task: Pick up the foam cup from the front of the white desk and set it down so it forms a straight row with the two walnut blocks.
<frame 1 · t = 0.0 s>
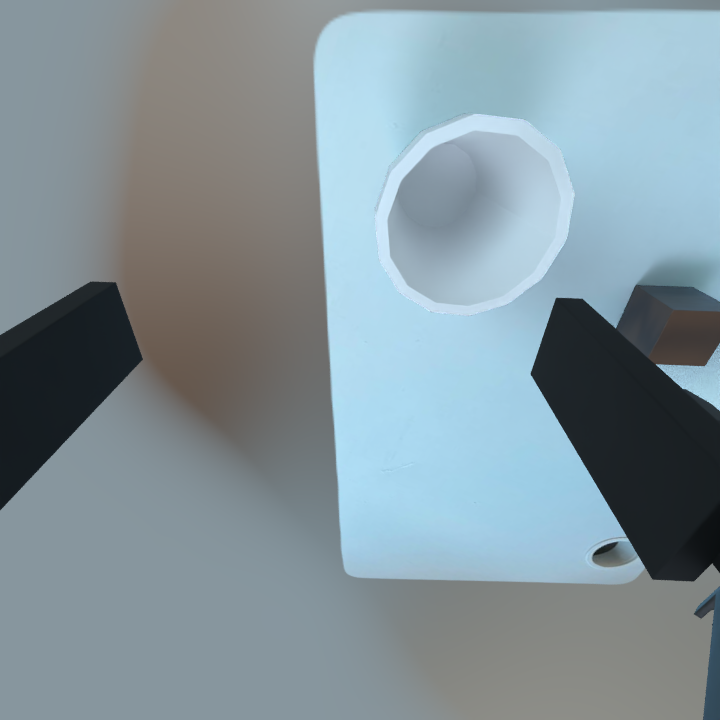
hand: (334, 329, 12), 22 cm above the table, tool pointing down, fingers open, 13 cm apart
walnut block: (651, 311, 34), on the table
foam cup: (435, 185, 29), on the table
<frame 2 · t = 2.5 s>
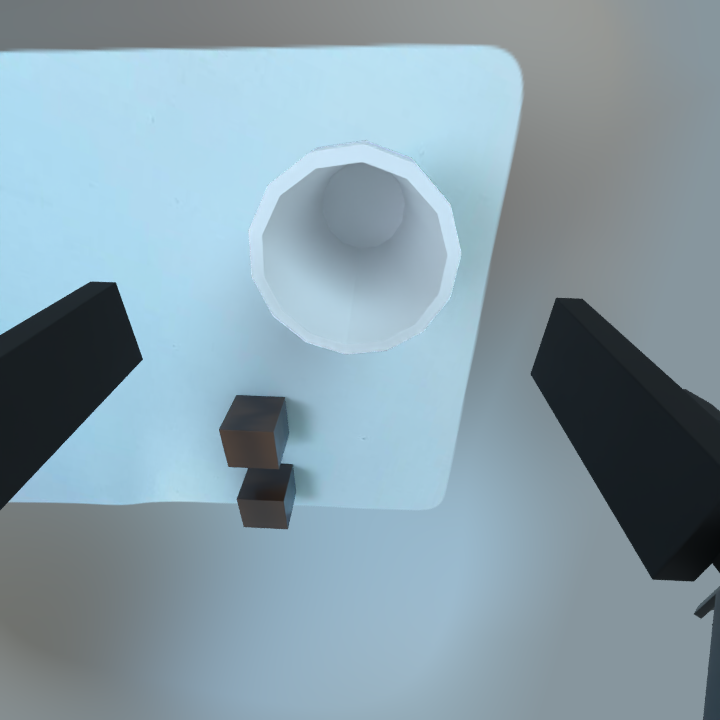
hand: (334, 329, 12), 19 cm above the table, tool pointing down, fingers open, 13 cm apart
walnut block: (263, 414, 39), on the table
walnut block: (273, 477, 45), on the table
foam cup: (363, 204, 28), on the table
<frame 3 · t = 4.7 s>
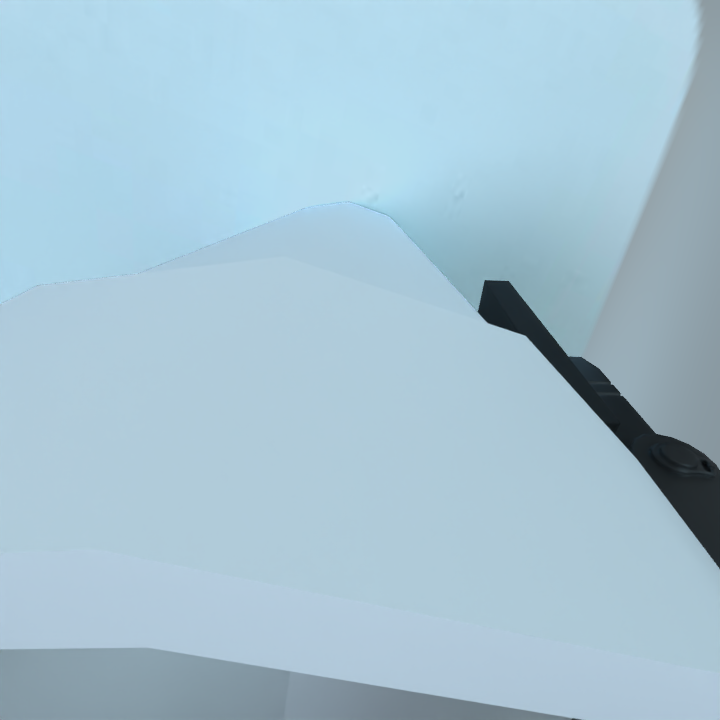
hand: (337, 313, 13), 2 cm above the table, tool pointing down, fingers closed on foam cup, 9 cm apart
foam cup: (342, 287, 15), on the table, touching gripper
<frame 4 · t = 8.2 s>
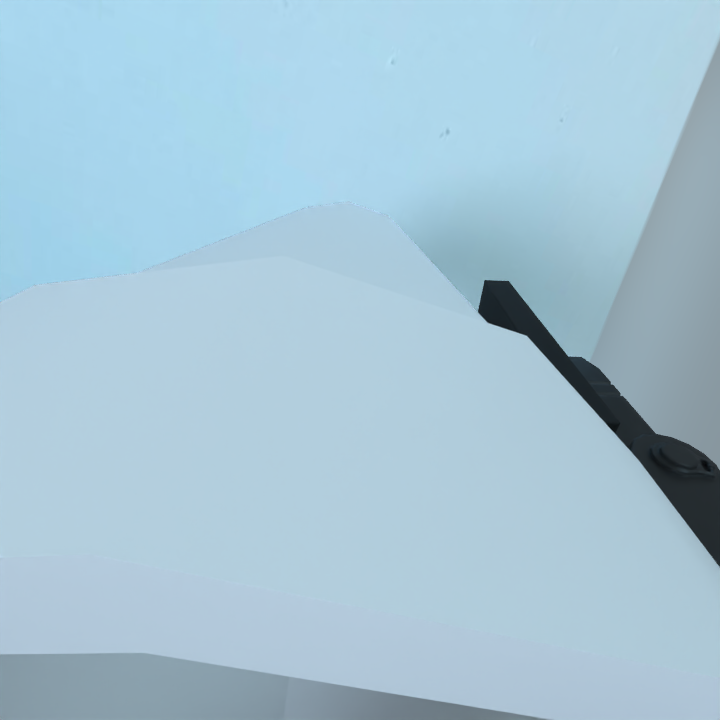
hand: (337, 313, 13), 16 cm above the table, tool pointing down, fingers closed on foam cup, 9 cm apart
foam cup: (342, 287, 15), point 14 cm above the table, touching gripper
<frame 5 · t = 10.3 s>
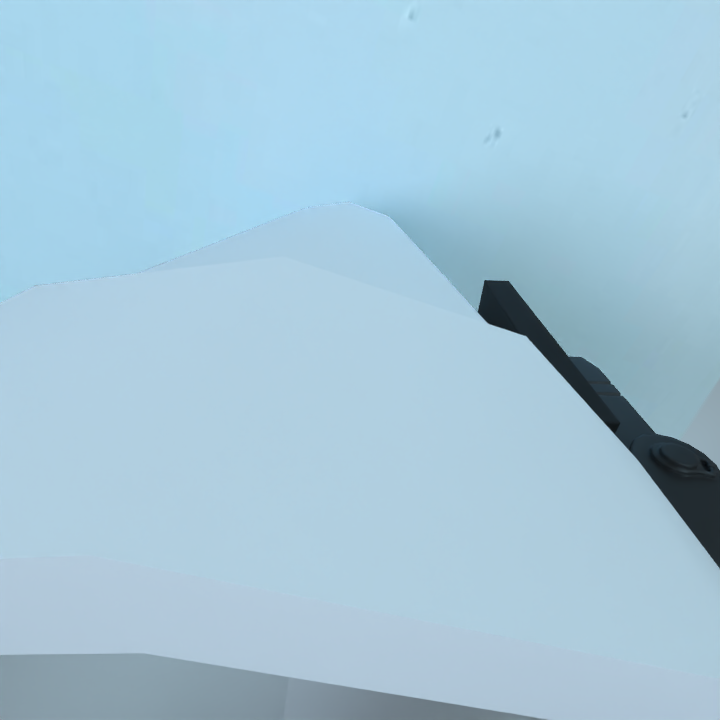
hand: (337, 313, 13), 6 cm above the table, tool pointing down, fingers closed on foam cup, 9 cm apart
foam cup: (342, 287, 15), point 4 cm above the table, touching gripper
when the fingers open (2 cm above the table, at t = 11.8 s): foam cup stays where it is, on the table.
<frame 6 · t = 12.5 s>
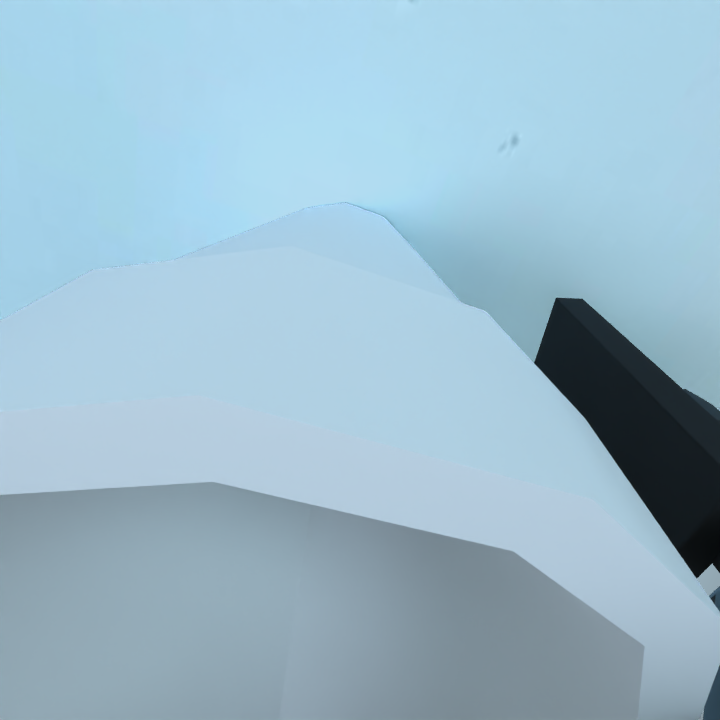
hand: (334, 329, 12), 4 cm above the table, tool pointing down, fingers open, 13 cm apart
foam cup: (340, 284, 15), on the table
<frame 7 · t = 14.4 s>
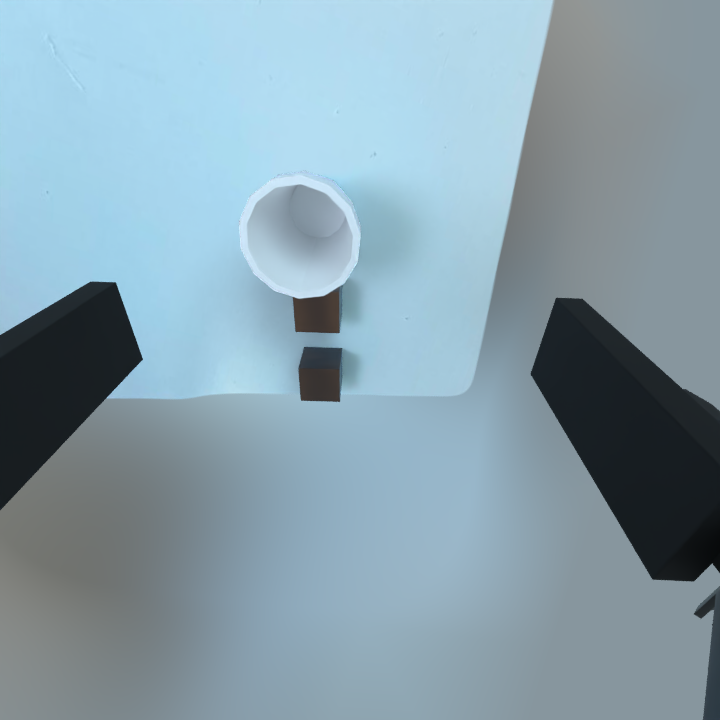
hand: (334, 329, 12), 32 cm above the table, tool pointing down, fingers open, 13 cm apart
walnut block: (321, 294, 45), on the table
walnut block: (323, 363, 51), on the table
foam cup: (318, 207, 40), on the table
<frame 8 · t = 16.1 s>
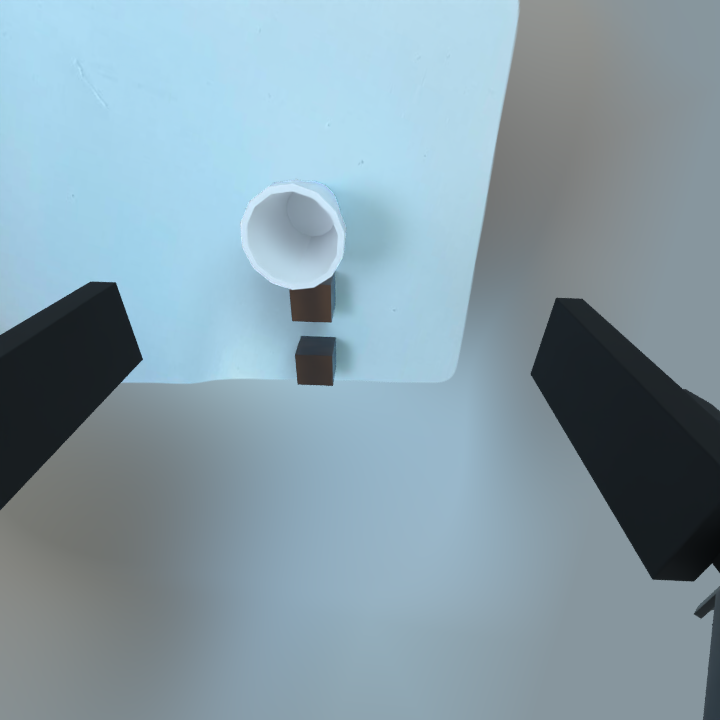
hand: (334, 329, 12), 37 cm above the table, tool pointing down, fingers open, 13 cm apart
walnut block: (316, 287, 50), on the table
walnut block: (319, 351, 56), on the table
foam cup: (313, 209, 45), on the table
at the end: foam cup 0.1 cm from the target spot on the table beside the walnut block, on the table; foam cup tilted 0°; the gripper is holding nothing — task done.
